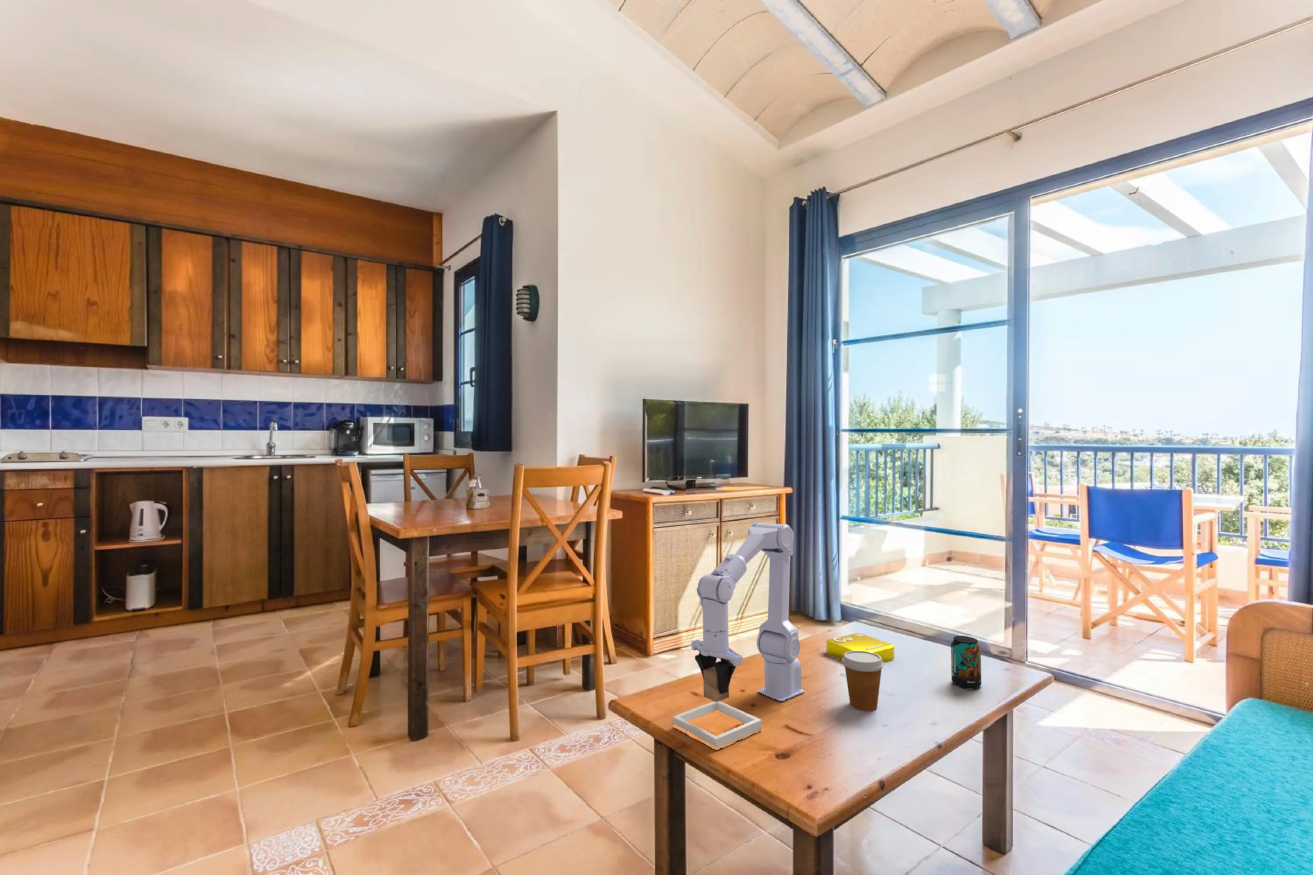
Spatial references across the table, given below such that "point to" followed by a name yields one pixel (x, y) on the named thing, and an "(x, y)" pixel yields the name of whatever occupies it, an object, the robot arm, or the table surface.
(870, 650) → the yellow printed box
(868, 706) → the disposable coffee cup
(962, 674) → the beverage can
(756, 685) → the table surface
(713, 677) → the brown rectangular block
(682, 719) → the white tray
